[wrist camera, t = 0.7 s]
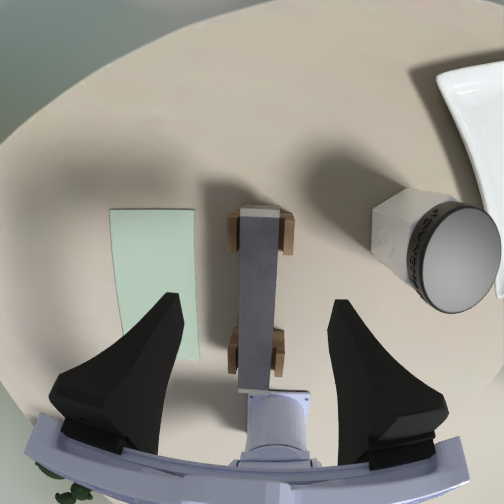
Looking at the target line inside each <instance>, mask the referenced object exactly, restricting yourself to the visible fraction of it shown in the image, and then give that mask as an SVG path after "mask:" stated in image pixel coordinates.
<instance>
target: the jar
mask: <svg viewBox="0 0 504 504" xmlns="http://www.w3.org/2000/svg"><path fill="white" fill-rule="evenodd" d="M501 251H502V249H501V238H500V234H499V231H498V228H497V226H496V223H495V222H494V220H493V219H492V217H491V216H490V215H489V214H488V213H487V212H486V211H485V210H483V209H482V208H480V207H477V206H474V205H470V204H465V203H461V202H460V201H458V200H457V199H456V198H455V197H454V196H453V195H448V194H442V193H436V192H429V191H422V190H416V189H408V188H406V189H404V190H402V191H401V192H399V193H398V194H396V195H394V196H393V197H391V198H389V199H388V200H386V201H384V202H383V203H381V204H379V205H378V206H376V207H375V208H373V209H372V235H371V253H372V254H373V255H374V256H375V257H376V258H378V259H379V260H380V261H381V262H382V263H383V264H384V265H385V266H386V267H388V268H389V269H390V270H391V271H392V272H393V273H394V274H395V275H396V276H397V277H398V278H399V279H401V280H402V281H403V282H404V283H405V284H407V285H408V286H410V287H411V288H413V289H414V290H416V292H417V293H418V294H419V295H420V297H421V298H422V299H423V300H424V301H425V302H426V303H427V304H429V305H430V306H432V307H433V308H434V309H436V310H438V311H440V312H443V313H447V314H456V313H461V312H464V311H466V310H468V309H470V308H472V307H473V306H475V305H476V304H477V303H479V302H480V301H481V300H482V299H483V298H484V296H485V295H486V294H487V293H488V291H489V290H490V288H491V287H492V285H493V283H494V281H495V279H496V276H497V273H498V270H499V267H500V262H501Z"/></svg>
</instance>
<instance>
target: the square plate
mask: <svg viewBox="0 0 504 504" xmlns="http://www.w3.org/2000/svg"><path fill="white" fill-rule="evenodd" d="M436 83H437V85H438V88H439V90H440V92H441V94H442V96H443V98H444V100H445V103H446V105H447V107H448V109H449V111H450V113H451V115H452V117H453V120H454V122H455V124H456V126H457V129H458V131H459V133H460V136H461V138H462V140H463V143H464V145H465V148H466V150H467V153H468V156H469V159H470V162H471V164H472V167H473V170H474V173H475V177H476V180H477V183H478V187H479V190H480V194H481V198H482V202H483V206H484V210H485V211H486V212H487V213H488V214H489V215H490V216H491V217H492V219H493V220H494V222H495V223H496V226H497V228H498V231H499V234H500V238H501V249H502V251H501V262H500V267H499V270H498V273H497V276H496V279H495V281H494V284H495V293H496V298H497V299H498V300H501V299H503V298H504V60H503V61H497V62H491V63H485V64H480V65H474V66H468V67H464V68H459V69H454V70H450V71H446V72H443V73H440V74H438V75H437V76H436Z"/></svg>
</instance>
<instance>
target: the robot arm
mask: <svg viewBox="0 0 504 504" xmlns="http://www.w3.org/2000/svg"><path fill="white" fill-rule="evenodd" d="M184 325H185V322H184V317H183V313H182V308H181V302H180V297H179V293H173V292H166V293H165V294H164V295H163V296H162V297H161V298H160V299H159V300H158V301H157V303H156V304H155V305H154V306H153V307H152V308H151V309H150V310H149V311H148V312H147V313H146V314H145V315H144V316H143V318H142V319H141V320H140V321H139V322H138V323H137V324H136V325H135V326H133V327H132V328H131V329H130V330H129V331H128V332H127V333H126V334H125V335H124V336H123V337H121V338H120V339H119V340H118V341H117V342H115V343H114V344H113V345H111V346H110V347H109V348H107V349H106V350H104V351H103V352H101V353H100V354H98V355H97V356H95V357H94V358H92V359H90V360H88V361H87V362H85V363H83V364H81V365H79V366H77V367H75V368H73V369H70V370H68V371H66V372H64V373H61V374H59V376H58V378H57V379H56V381H55V383H54V385H53V387H52V390H51V392H50V394H49V400H50V402H51V403H52V404H53V406H54V407H55V408H56V409H57V410H58V411H59V412H60V413H61V414H62V415H63V416H64V417H65V420H64V423H63V422H61V421H60V420H58V419H56V418H53V417H51V416H48V415H46V414H44V413H40V415H39V417H38V419H37V421H36V424H35V426H34V428H33V431H32V433H31V436H30V438H29V440H28V443H27V446H26V449H25V451H24V453H25V454H26V455H27V456H28V457H30V458H31V459H33V460H34V461H36V462H37V463H39V464H40V465H42V466H44V467H45V468H47V469H48V470H50V471H52V472H54V473H56V474H58V475H60V476H62V477H64V478H66V479H68V480H71V481H73V482H75V483H77V484H79V485H82V486H84V487H86V488H89V489H91V490H94V491H96V492H99V493H101V494H104V495H106V496H109V497H112V498H115V499H117V500H120V501H123V502H126V503H129V504H417V503H421V502H424V501H427V500H430V499H432V498H436V497H438V496H441V495H443V494H445V493H447V492H450V491H452V490H454V489H456V488H458V487H460V486H461V485H464V484H465V483H467V482H469V481H470V477H469V472H468V468H467V464H466V459H465V455H464V451H463V447H462V444H461V440H460V437H459V436H457V437H454V438H451V439H448V440H445V441H441V442H438V443H436V444H435V445H434V443H433V439H434V438H435V432H434V430H435V429H436V428H437V427H438V426H439V425H441V424H442V423H443V422H444V421H445V419H446V418H447V417H448V414H449V411H448V408H447V405H446V401H445V399H444V396H443V394H441V393H439V392H437V391H436V390H434V389H432V388H431V387H429V386H427V385H426V384H425V383H423V382H422V381H420V380H419V379H418V378H416V377H415V376H414V375H412V374H411V373H410V372H409V371H407V370H406V369H405V368H404V367H403V366H402V365H400V364H399V363H398V362H397V361H396V360H395V359H394V358H393V357H392V356H391V355H390V354H389V353H388V352H387V351H386V350H385V349H384V347H383V346H382V345H381V344H380V343H379V342H378V340H377V339H376V338H375V337H374V335H373V334H372V333H371V331H370V330H369V329H368V328H367V326H366V325H365V323H364V322H363V321H362V319H361V318H360V316H359V315H358V314H357V312H356V311H355V309H354V308H353V306H352V305H351V303H350V302H349V301H348V300H343V299H335V302H334V306H333V310H332V314H331V318H330V322H329V326H328V329H327V332H328V345H329V353H330V358H331V363H332V368H333V373H334V379H335V384H336V390H337V399H338V421H339V447H338V466H331V467H322V465H321V463H320V462H319V461H317V459H316V458H314V459H311V460H310V455H309V451H307V440H306V425H305V423H306V418H307V414H308V409H309V404H310V399H311V394H310V393H309V392H280V391H269V395H261V394H248V412H247V441H246V448H245V452H241V458H240V460H236V459H235V460H233V461H232V462H231V463H230V464H229V465H228V466H223V465H214V464H206V463H198V462H191V461H185V460H179V459H174V458H168V457H163V456H158V443H159V433H160V424H161V417H162V411H163V404H164V399H165V394H166V389H167V385H168V381H169V378H170V374H171V371H172V368H173V365H174V362H175V359H176V356H177V353H178V350H179V347H180V344H181V340H182V335H183V330H184ZM251 396H253V397H251ZM305 398H308V399H305ZM176 476H178V477H176Z"/></svg>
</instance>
